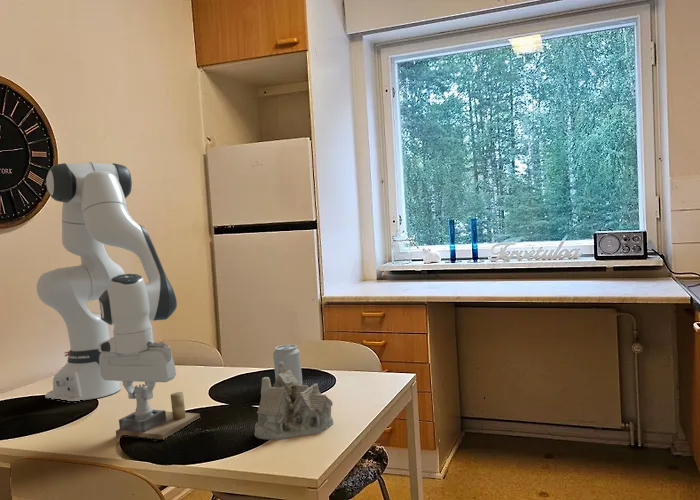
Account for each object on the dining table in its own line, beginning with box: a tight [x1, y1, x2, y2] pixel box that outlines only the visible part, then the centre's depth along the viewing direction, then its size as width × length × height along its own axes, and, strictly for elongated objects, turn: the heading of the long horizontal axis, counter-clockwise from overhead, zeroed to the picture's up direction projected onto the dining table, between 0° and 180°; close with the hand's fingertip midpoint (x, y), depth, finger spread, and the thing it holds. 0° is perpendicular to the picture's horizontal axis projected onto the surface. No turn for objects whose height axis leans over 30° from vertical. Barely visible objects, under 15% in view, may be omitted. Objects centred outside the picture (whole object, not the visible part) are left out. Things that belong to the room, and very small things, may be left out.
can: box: [272, 343, 304, 385], centre depth 176 cm, size 8×8×12 cm
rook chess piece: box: [133, 383, 154, 420], centre depth 150 cm, size 4×4×8 cm
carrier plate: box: [115, 391, 201, 440], centre depth 151 cm, size 14×14×8 cm
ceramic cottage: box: [253, 362, 334, 441], centre depth 143 cm, size 16×16×15 cm
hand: (140, 398), depth 150 cm, fingers closed on rook chess piece, 3 cm apart
